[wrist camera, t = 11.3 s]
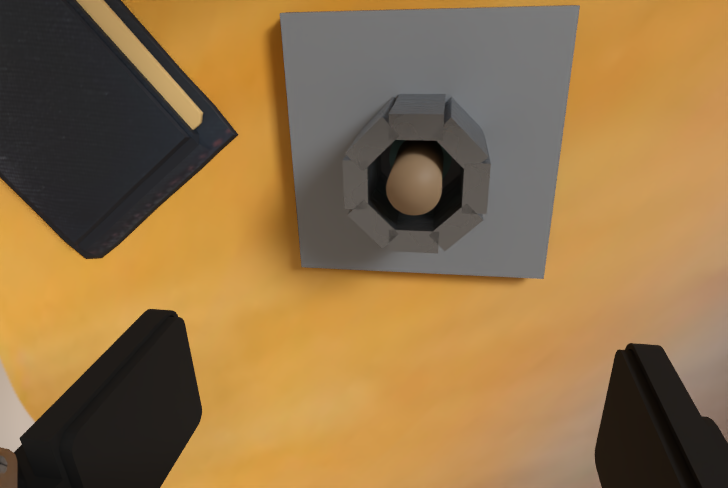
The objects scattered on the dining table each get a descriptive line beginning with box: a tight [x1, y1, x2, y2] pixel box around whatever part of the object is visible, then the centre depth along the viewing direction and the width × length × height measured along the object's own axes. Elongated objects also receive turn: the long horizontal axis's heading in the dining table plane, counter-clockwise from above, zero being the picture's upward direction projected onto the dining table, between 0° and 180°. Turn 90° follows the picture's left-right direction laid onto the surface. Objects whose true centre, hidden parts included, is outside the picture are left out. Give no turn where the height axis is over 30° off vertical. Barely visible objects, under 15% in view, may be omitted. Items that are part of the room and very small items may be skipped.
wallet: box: [0, 0, 238, 259], centre depth 30 cm, size 20×2×15 cm
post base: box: [280, 5, 580, 279], centre depth 26 cm, size 14×14×7 cm
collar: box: [343, 94, 491, 253], centre depth 26 cm, size 6×6×5 cm
